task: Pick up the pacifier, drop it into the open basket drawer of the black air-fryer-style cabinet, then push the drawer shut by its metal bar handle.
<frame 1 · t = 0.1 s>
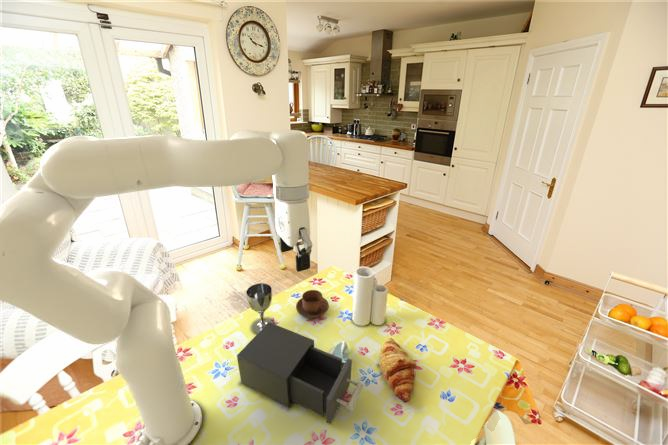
hand: (294, 259, 69), 37 cm above the table, tool pointing down, fingers open, 9 cm apart
croissant: (396, 372, 84), on the table
wine glass: (263, 326, 100), on the table
cabinet: (279, 374, 83), on the table
drawer: (323, 382, 75), point 5 cm above the table, slide at 10.5 cm
pacifier: (339, 358, 88), on the table
vase: (367, 318, 104), on the table
cup and saucer: (312, 310, 108), on the table
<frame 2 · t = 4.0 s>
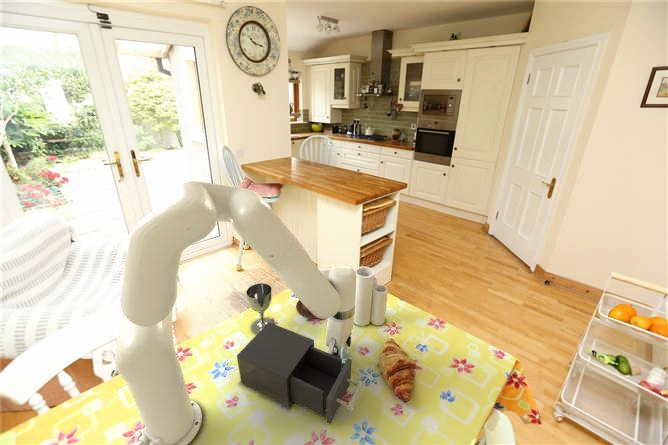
hand: (340, 353, 88), 1 cm above the table, tool pointing down, fingers closed on pacifier, 7 cm apart
pacifier: (339, 358, 88), on the table, touching gripper
everything else where it was.
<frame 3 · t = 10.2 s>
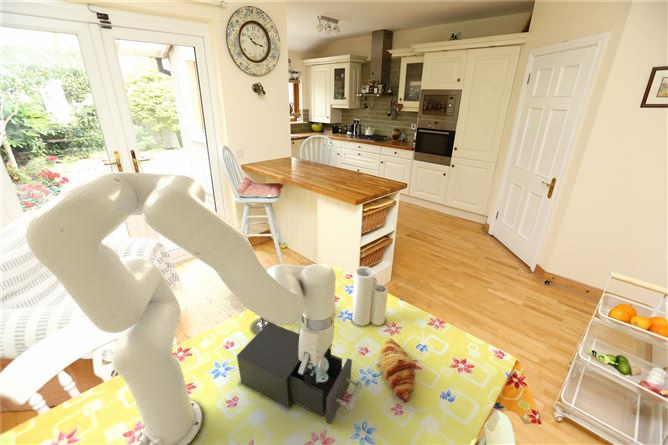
hand: (317, 369, 74), 9 cm above the table, tool pointing down, fingers closed on pacifier, 7 cm apart
pacifier: (316, 375, 74), point 8 cm above the table, touching gripper
everything else where it was.
when the fingers open (12 cm above the table, at t = 29.6 s): pacifier drops 8 cm, resting on drawer.
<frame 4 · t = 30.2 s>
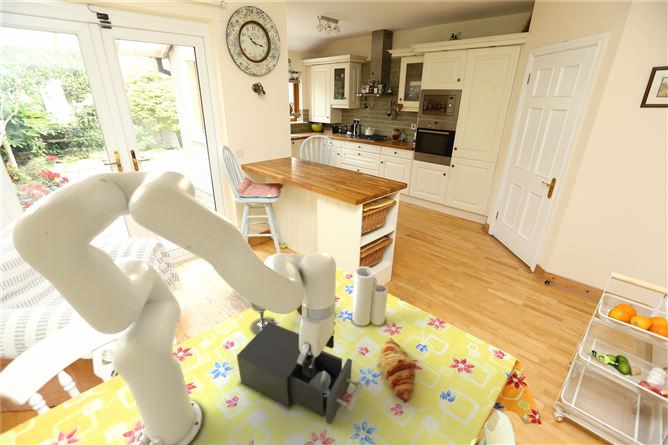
hand: (318, 359, 72), 13 cm above the table, tool pointing down, fingers open, 9 cm apart
drawer: (324, 382, 75), point 5 cm above the table, slide at 10.5 cm, touching pacifier
pacifier: (319, 390, 77), point 2 cm above the table, touching drawer
everything else where it was.
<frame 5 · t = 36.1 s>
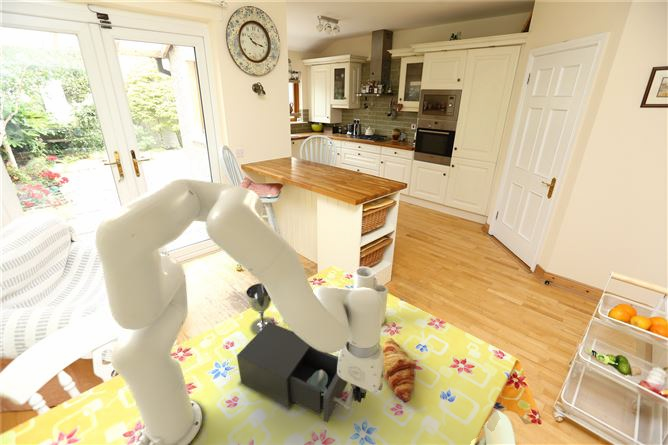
hand: (359, 396, 71), 6 cm above the table, tool pointing down, fingers closed
drawer: (321, 381, 75), point 5 cm above the table, slide at 9.7 cm, touching gripper, pacifier
everything else where it was.
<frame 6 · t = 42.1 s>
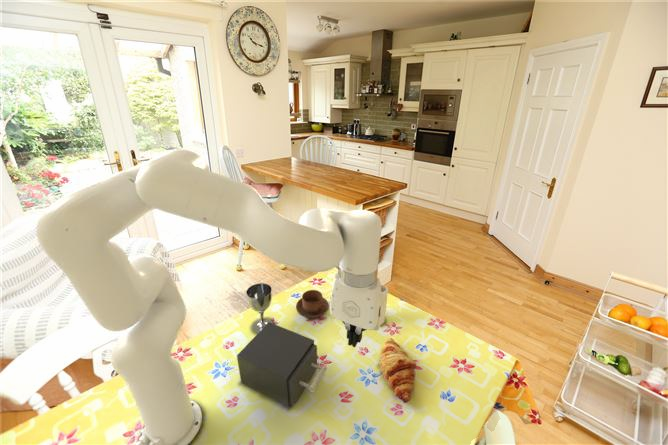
hand: (354, 341, 64), 23 cm above the table, tool pointing down, fingers closed
drawer: (289, 366, 79), point 5 cm above the table, slide at 0.0 cm, touching pacifier
pacifier: (285, 374, 81), point 2 cm above the table, touching drawer
everything else where it was.
at the end: pacifier inside the target area in the cabinet (2.5 cm from its centre), point 1.8 cm above the cabinet's base; drawer slide at 0.0 cm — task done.
